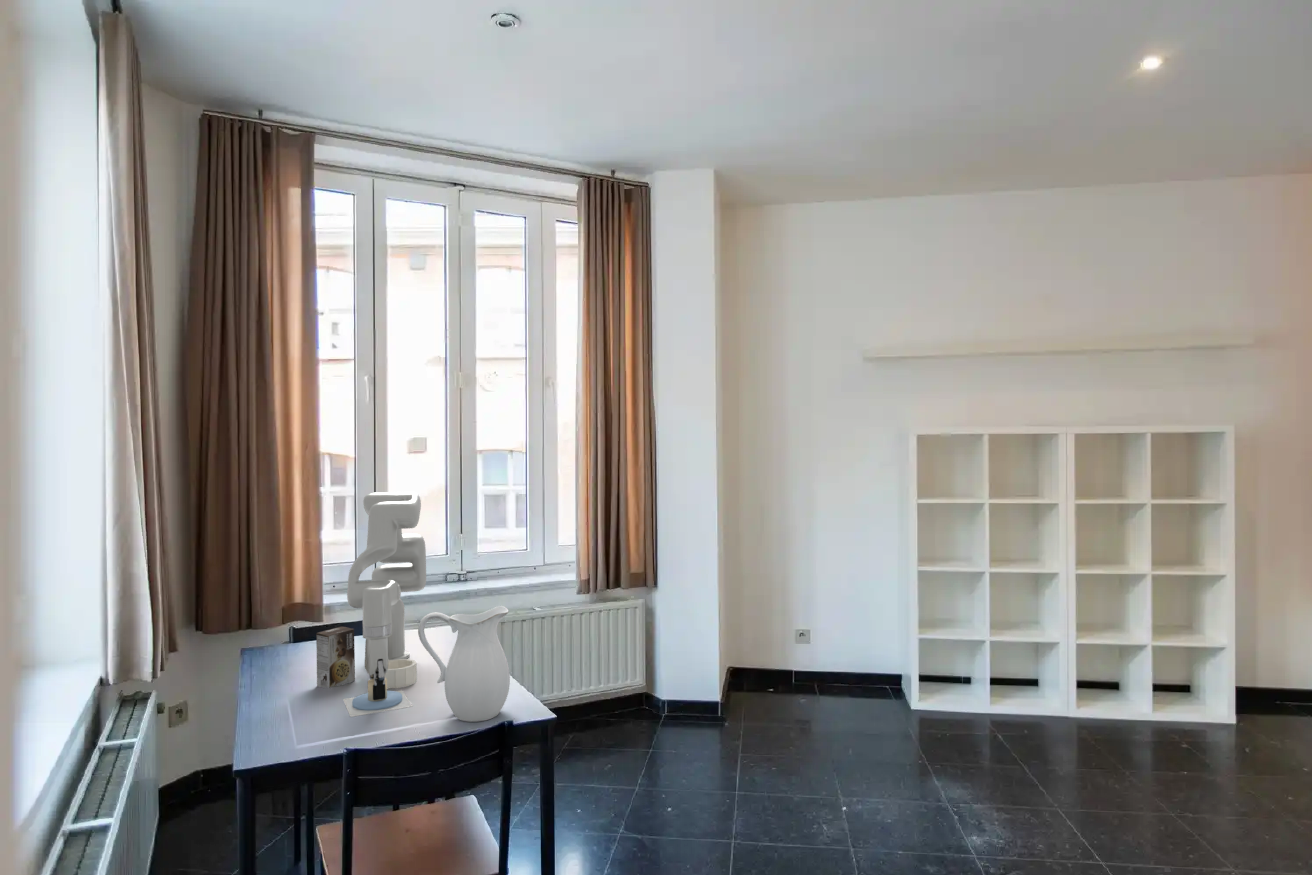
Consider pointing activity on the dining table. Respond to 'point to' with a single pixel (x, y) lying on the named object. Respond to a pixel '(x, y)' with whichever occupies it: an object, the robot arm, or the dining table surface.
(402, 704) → the mat
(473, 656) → the pitcher
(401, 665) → the bowl
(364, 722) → the dining table surface
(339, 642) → the coffee box
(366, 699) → the lid
